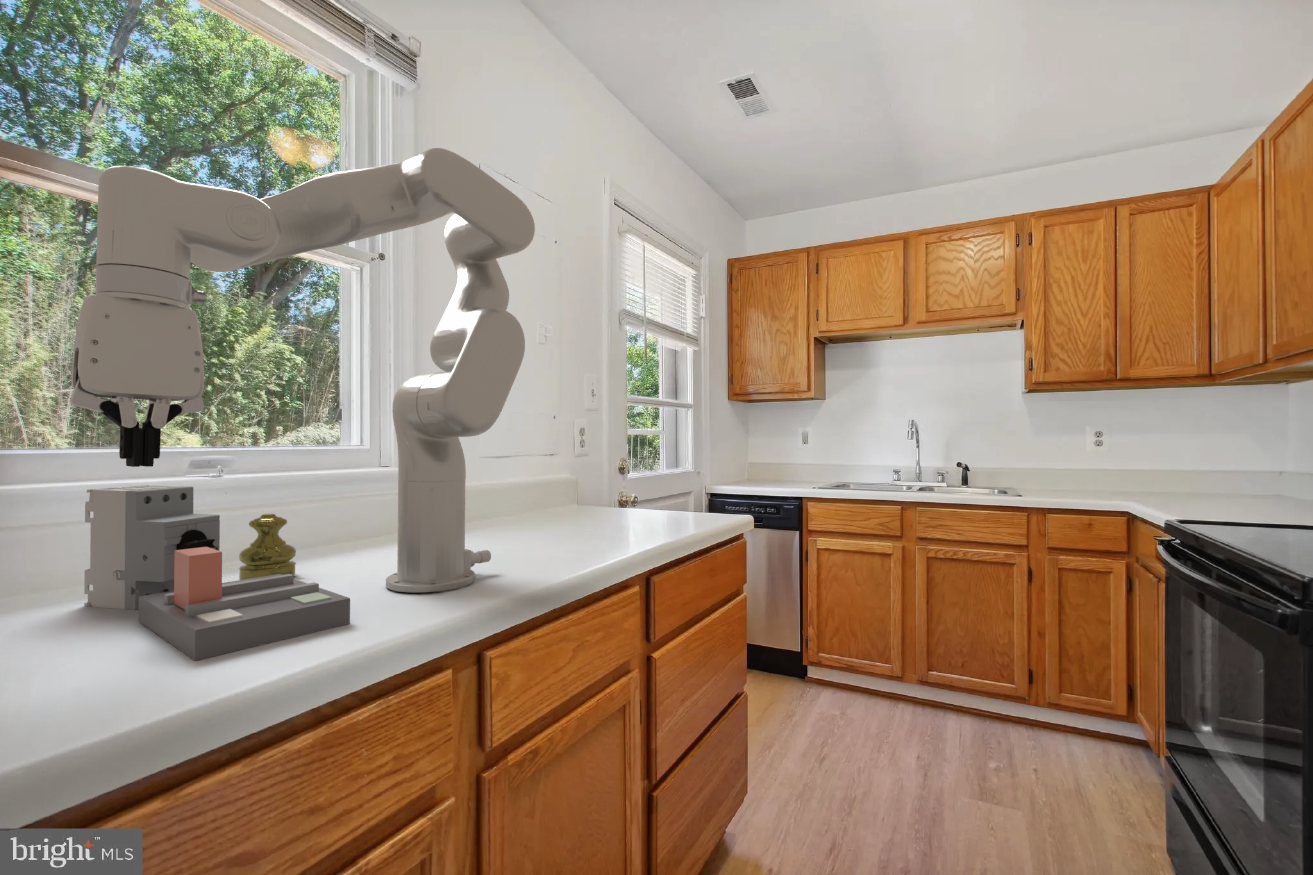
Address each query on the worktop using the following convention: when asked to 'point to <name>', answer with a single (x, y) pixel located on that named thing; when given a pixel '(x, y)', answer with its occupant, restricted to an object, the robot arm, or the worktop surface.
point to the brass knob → (267, 550)
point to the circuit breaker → (141, 541)
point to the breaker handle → (197, 576)
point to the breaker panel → (244, 615)
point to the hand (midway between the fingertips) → (139, 465)
